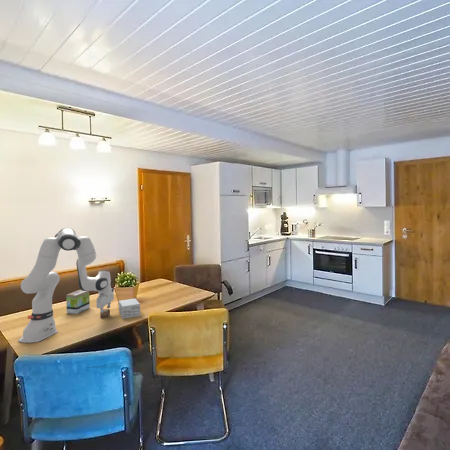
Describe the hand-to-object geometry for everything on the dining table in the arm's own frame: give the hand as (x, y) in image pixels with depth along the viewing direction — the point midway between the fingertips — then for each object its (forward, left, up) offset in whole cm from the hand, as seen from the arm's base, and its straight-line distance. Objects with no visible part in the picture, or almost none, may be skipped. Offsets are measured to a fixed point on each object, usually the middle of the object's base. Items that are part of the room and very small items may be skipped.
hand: (105, 310), depth 222 cm
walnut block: (0, +1, -5) cm, 5 cm away
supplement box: (+7, -15, -6) cm, 18 cm away
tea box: (+13, +29, -5) cm, 32 cm away
